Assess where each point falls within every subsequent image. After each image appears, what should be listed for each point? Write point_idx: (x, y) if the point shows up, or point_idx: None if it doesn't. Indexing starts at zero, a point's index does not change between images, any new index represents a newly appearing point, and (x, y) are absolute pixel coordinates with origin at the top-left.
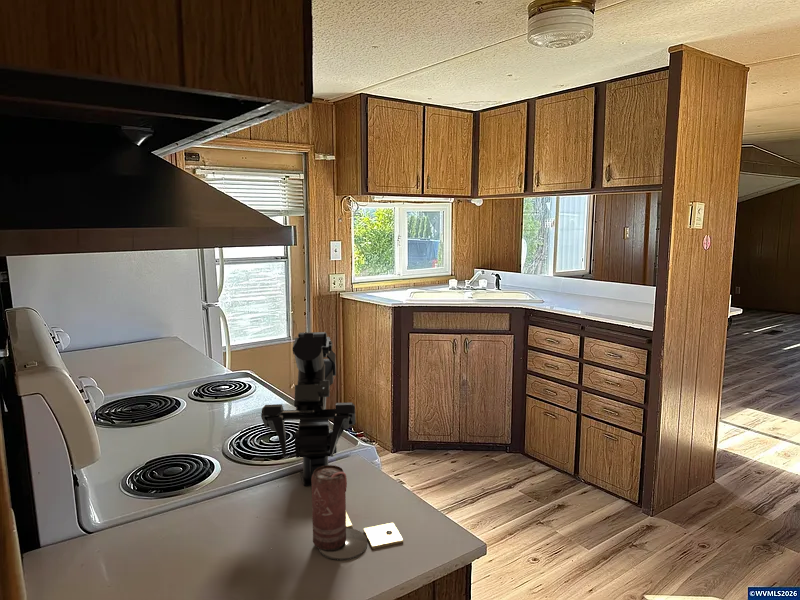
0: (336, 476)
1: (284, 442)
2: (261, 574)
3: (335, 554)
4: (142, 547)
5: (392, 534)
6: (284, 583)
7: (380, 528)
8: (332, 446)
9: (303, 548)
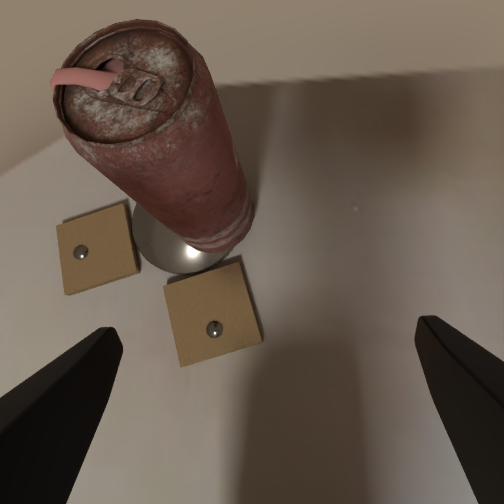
0: (92, 66)
1: (478, 379)
2: (352, 124)
3: None
4: None
5: (74, 245)
6: (298, 103)
7: (97, 270)
8: (71, 354)
9: (277, 207)
